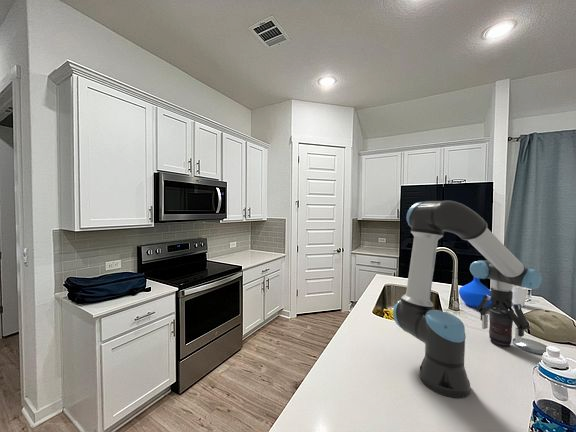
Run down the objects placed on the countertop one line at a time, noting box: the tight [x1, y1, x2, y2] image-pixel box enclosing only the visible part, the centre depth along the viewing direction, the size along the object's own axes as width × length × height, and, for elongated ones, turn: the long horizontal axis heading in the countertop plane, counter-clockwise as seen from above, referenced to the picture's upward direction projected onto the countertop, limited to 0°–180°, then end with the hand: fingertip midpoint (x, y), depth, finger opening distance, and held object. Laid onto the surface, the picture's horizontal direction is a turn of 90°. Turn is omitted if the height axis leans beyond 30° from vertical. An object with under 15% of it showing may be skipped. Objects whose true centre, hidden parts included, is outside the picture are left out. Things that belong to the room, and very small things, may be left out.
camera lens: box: [488, 307, 514, 349], centre depth 113 cm, size 8×8×15 cm
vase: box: [458, 276, 492, 309], centre depth 159 cm, size 18×18×19 cm
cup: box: [511, 285, 528, 308], centre depth 161 cm, size 9×9×12 cm
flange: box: [512, 337, 548, 356], centre depth 110 cm, size 12×12×1 cm
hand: (500, 335), depth 113 cm, fingers open, 13 cm apart
